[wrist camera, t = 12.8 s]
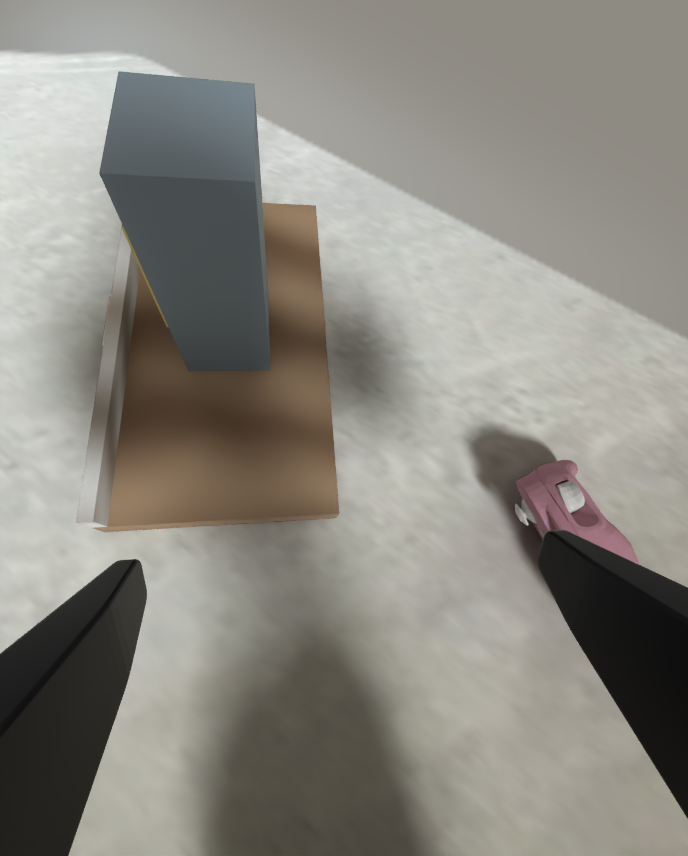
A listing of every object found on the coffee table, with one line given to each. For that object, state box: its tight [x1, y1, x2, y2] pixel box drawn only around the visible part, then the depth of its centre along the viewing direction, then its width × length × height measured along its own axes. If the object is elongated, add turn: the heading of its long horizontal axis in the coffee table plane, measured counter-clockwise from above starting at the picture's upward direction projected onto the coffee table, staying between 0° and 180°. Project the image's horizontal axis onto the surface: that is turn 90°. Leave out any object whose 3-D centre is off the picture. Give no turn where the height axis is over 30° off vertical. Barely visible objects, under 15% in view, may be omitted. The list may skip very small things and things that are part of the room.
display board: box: [76, 203, 339, 532], centre depth 25 cm, size 22×12×3 cm, turn 5°
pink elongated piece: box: [515, 460, 639, 564], centre depth 21 cm, size 10×5×7 cm, turn 23°
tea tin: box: [100, 72, 270, 371], centre depth 19 cm, size 5×5×12 cm
